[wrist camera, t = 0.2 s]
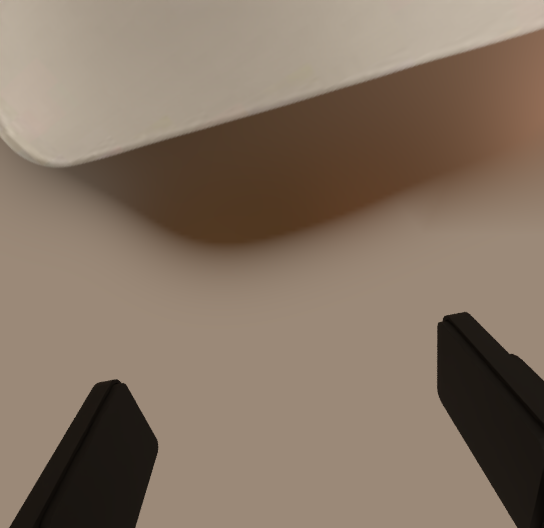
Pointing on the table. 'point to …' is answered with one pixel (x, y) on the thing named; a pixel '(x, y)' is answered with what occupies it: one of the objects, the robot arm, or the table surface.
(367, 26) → the table surface
